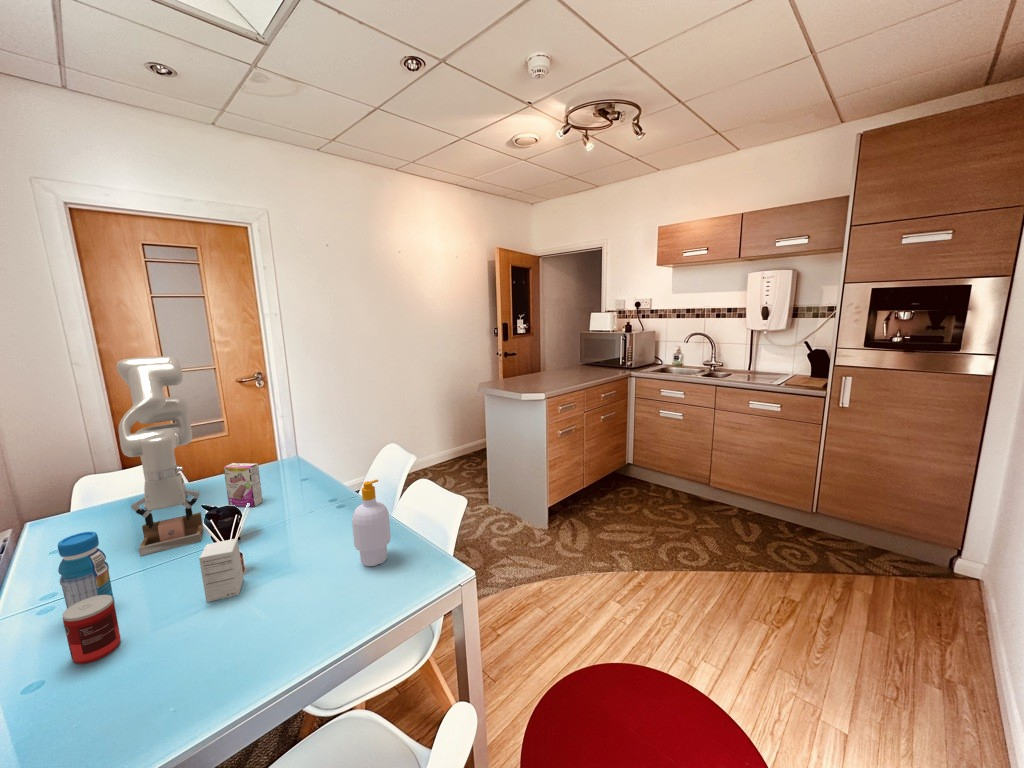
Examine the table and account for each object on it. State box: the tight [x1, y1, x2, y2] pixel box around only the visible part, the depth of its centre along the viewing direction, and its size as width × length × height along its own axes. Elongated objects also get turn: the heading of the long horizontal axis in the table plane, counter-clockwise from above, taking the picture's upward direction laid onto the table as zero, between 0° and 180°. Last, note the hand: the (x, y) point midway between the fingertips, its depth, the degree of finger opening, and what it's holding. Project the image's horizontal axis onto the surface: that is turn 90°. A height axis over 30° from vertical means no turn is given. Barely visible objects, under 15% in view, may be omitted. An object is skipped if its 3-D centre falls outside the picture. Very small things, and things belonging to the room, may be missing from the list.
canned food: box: [62, 595, 122, 665], centre depth 90 cm, size 8×8×11 cm
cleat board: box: [138, 512, 204, 557], centre depth 135 cm, size 9×15×6 cm, turn 122°
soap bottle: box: [351, 479, 391, 567], centre depth 121 cm, size 10×10×24 cm
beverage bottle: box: [57, 531, 116, 609], centre depth 102 cm, size 8×8×20 cm
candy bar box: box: [223, 462, 264, 508], centre depth 162 cm, size 11×5×16 cm, turn 84°
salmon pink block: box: [158, 516, 187, 542], centre depth 136 cm, size 5×6×7 cm
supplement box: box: [198, 538, 244, 603], centre depth 110 cm, size 7×7×13 cm
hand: (170, 522), depth 136 cm, fingers open, 9 cm apart
